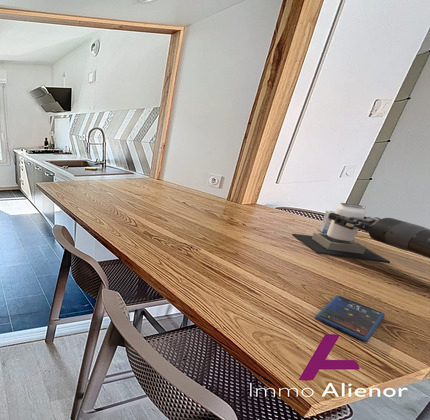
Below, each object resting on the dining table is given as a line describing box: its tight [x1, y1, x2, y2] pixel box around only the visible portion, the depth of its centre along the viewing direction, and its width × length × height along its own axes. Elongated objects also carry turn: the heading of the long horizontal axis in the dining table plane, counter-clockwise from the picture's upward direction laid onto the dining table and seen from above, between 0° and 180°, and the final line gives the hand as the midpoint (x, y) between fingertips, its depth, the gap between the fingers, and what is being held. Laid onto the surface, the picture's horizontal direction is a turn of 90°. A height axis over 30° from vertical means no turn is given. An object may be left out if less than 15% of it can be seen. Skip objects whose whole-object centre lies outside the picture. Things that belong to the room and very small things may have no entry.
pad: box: [291, 232, 391, 264], centre depth 86 cm, size 18×16×3 cm
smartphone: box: [315, 294, 386, 342], centre depth 54 cm, size 8×1×15 cm
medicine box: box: [318, 210, 335, 234], centre depth 97 cm, size 8×4×9 cm, turn 55°
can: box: [327, 202, 367, 241], centre depth 84 cm, size 6×6×12 cm
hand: (340, 215), depth 85 cm, fingers closed on can, 6 cm apart
